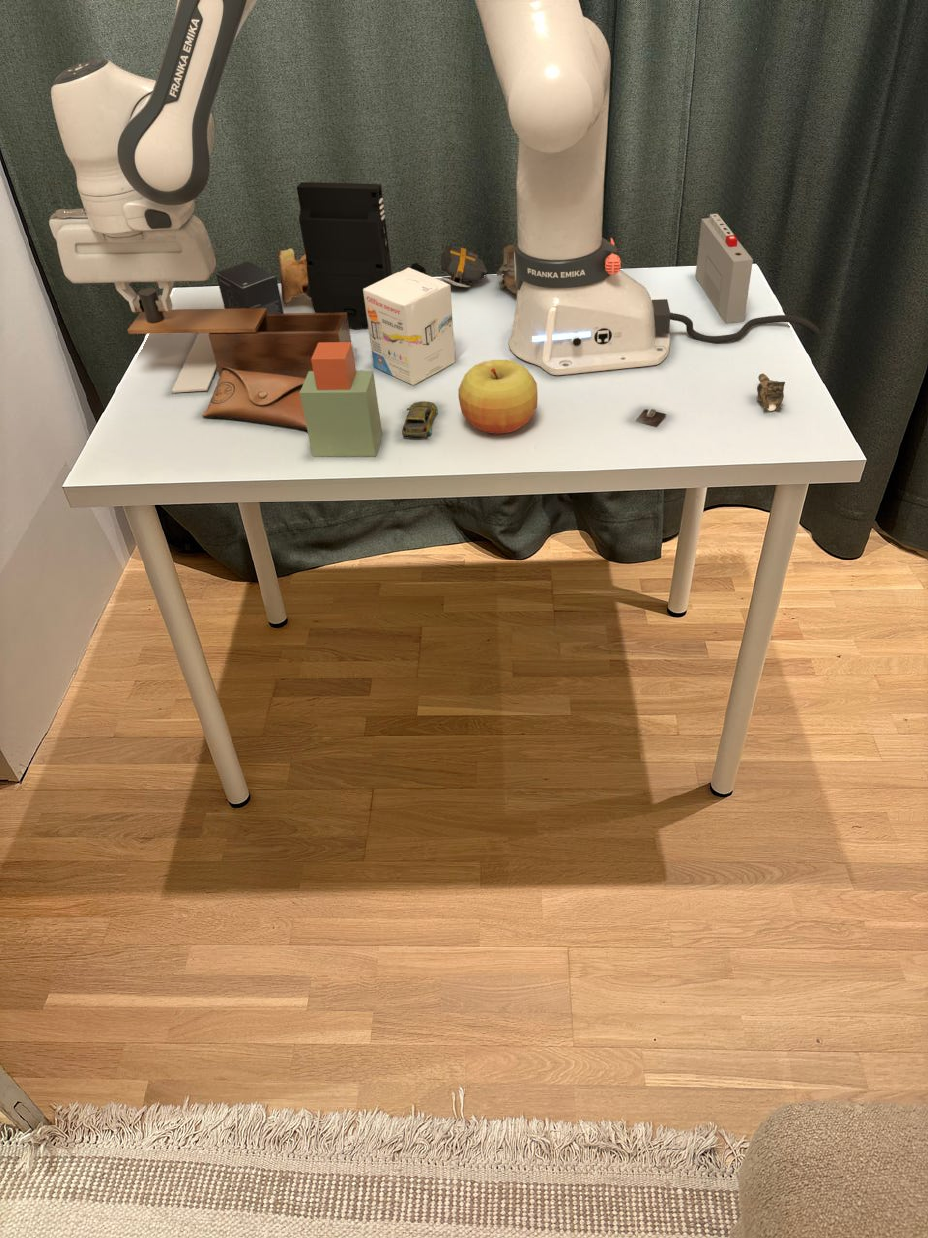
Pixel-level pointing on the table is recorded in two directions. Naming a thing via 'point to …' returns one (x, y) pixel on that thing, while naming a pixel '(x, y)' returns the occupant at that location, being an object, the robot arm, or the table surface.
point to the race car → (419, 420)
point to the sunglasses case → (258, 398)
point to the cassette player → (723, 269)
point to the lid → (193, 318)
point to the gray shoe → (462, 266)
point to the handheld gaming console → (343, 245)
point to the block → (333, 365)
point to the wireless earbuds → (418, 268)
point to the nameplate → (197, 367)
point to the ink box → (410, 325)
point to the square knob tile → (650, 417)
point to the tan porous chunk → (293, 275)
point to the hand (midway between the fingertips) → (153, 310)
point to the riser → (342, 417)
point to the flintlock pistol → (508, 270)
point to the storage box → (280, 343)
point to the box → (249, 288)
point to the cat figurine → (770, 392)
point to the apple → (498, 396)
